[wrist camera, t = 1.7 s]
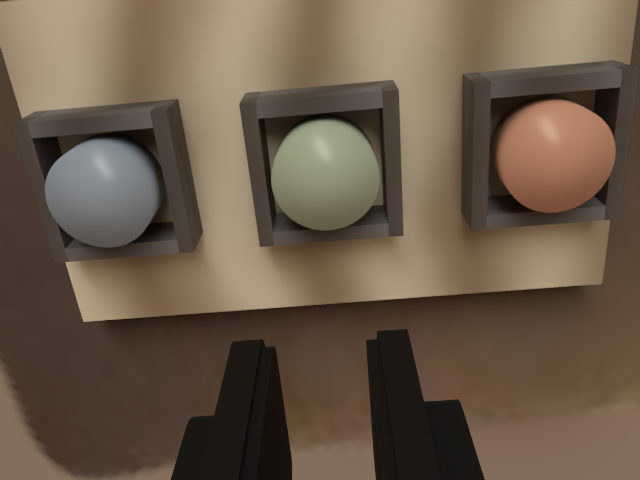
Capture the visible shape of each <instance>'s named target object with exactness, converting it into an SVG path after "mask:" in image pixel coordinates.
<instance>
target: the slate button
mask: <svg viewBox="0 0 640 480" xmlns="http://www.w3.org/2000/svg"><path fill="white" fill-rule="evenodd" d="M165 190H166V187H165V182H164V177H163V172H162V168H161V166H160V164H159V162H158V160H157V159H156V158H155V156H154V155H153V154H152V153H151V152H150V151H149V149H147V148H146V147H145V146H144V145H142V144H141V143H139V142H138V141H136V140H134V139H132V138H130V137H127V136H124V135H120V134H114V133H103V134H97V135H94V136H91V137H89V138H86V139H85V140H83V141H82V142H80V143H79V144H78V145H76V146H75V147H74V148H72V149H71V150H70V151H68V152H67V153H66V154H64V155H63V156H62V157H60V158H59V159H58V160H57V161H56V162H55V163H54V164H53V166H52V167H51V169H50V171H49V173H48V175H47V178H46V183H45V197H46V202H47V205H48V208H49V210H50V212H51V214H52V216H53V218H54V219H55V221H56V222H57V223H58V224H59V226H60V227H61V228H62V229H63V230H64V231H66V232H67V233H68V234H69V235H71V236H72V237H74V238H75V239H77V240H79V241H81V242H83V243H86V244H89V245H92V246H97V247H105V248H107V247H118V246H122V245H125V244H128V243H130V242H132V241H133V240H135V239H136V238H138V237H139V236H140V235H141V234H142V233H143V232H144V231H145V229H146V228H147V226H148V225H149V223H150V222H151V220H152V219H153V217H154V216H155V214H156V213H157V211H158V210H159V208H160V207H161V204H162V202H163V200H164V196H165Z"/></svg>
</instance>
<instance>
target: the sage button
mask: <svg viewBox="0 0 640 480" xmlns="http://www.w3.org/2000/svg"><path fill="white" fill-rule="evenodd" d="M379 184H380V175H379V168H378V164H377V161H376V157H375V153H374V149H373V146H372V144H371V141H370V140H369V138H368V136H367V135H366V134H365V132H364V131H363V130H362V129H361V128H360V127H359V126H357V125H356V124H355V123H353V122H352V121H350V120H348V119H346V118H343V117H340V116H336V115H329V114H321V115H314V116H311V117H307V118H305V119H303V120H301V121H299V122H298V123H296V124H295V125H293V126H292V127H291V128H290V129H289V130H288V131H287V132H286V133H285V135H284V136H283V137H282V139H281V141H280V143H279V145H278V148H277V151H276V155H275V159H274V163H273V168H272V173H271V185H272V190H273V194H274V197H275V199H276V201H277V203H278V205H279V206H280V208H281V209H282V211H283V212H284V213H285V214H286V215H287V216H288V217H289V218H291V219H292V220H293V221H295V222H296V223H298V224H300V225H302V226H305V227H307V228H311V229H315V230H336V229H340V228H343V227H346V226H349V225H351V224H352V223H354V222H356V221H357V220H359V219H360V218H361V217H362V216H363V215H365V214H366V213H367V211H368V210H369V209H370V208H371V206H372V204H373V203H374V201H375V199H376V196H377V193H378V190H379Z"/></svg>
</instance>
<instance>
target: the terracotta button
mask: <svg viewBox="0 0 640 480" xmlns="http://www.w3.org/2000/svg"><path fill="white" fill-rule="evenodd" d="M615 153H616V148H615V141H614V137H613V134H612V132H611V130H610V128H609V127H608V125H607V124H606V123H605V121H604V120H603V119H602V118H600V117H599V116H598V115H596V114H595V113H593V112H591V111H590V110H588V109H586V108H584V107H583V106H581V105H579V104H577V103H575V102H574V101H572V100H570V99H567V98H565V97H561V96H557V95H542V96H536V97H533V98H530V99H527V100H525V101H523V102H521V103H519V104H517V105H516V106H515V107H513V108H512V109H511V110H510V111H509V112H507V113H506V114H505V116H504V117H503V118H502V119H501V120H500V122H499V123H498V125H497V127H496V129H495V131H494V133H493V136H492V139H491V143H490V161H491V165H492V168H493V170H494V172H495V174H496V175H497V177H498V178H499V179H500V181H501V182H502V183H503V184H504V186H505V187H506V188H507V189H508V191H509V192H510V193H511V194H512V196H513V197H514V198H515V199H516V200H517V201H518V202H519V203H521V204H522V205H524V206H525V207H527V208H529V209H532V210H534V211H539V212H545V213H556V212H563V211H567V210H570V209H573V208H575V207H577V206H579V205H581V204H583V203H585V202H586V201H588V200H589V199H590V198H592V197H593V196H594V195H595V194H596V193H597V192H598V191H599V190H600V189H601V188H602V187H603V185H604V184H605V182H606V181H607V179H608V178H609V176H610V173H611V171H612V169H613V165H614V161H615Z"/></svg>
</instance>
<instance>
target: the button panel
mask: <svg viewBox="0 0 640 480" xmlns="http://www.w3.org/2000/svg"><path fill="white" fill-rule="evenodd" d="M637 5H638V0H10V1H2V2H0V47H1V50H2V53H3V57H4V60H5V63H6V66H7V70H8V73H9V76H10V80H11V83H12V86H13V90H14V93H15V96H16V100H17V103H18V106H19V110H20V113H21V116H22V119H20V120H18V121H16V122H14V123H12V127H13V131H14V134H15V137H16V140H17V143H18V147H19V150H20V153H21V156H22V160H23V163H24V166H25V169H26V172H27V176H28V179H29V182H30V185H31V189H32V192H33V195H34V198H35V201H36V205H37V208H38V211H39V214H40V218H41V221H42V224H43V227H44V230H45V234H46V237H47V240H48V243H49V247H50V250H51V253H52V256H53V259H54V263H61V262H66V265H67V269H68V272H69V275H70V279H71V282H72V285H73V289H74V292H75V295H76V299H77V302H78V305H79V308H80V312H81V315H82V318H83V322H87V321H101V320H115V319H128V318H142V317H156V316H169V315H183V314H197V313H210V312H224V311H238V310H251V309H265V308H279V307H292V306H306V305H320V304H333V303H347V302H361V301H374V300H388V299H402V298H415V297H429V296H443V295H456V294H470V293H484V292H497V291H511V290H525V289H538V288H552V287H566V286H579V285H593V284H602V281H603V273H604V265H605V257H606V250H607V242H608V234H609V226H610V220H615V219H620V212H621V205H622V198H623V190H624V183H625V175H626V168H627V160H628V153H629V145H630V138H631V130H632V123H633V115H634V108H635V101H636V93H637V86H638V78H639V71H640V69H639V68H636V67H634V66H631V65H630V60H631V53H632V45H633V37H634V29H635V21H636V13H637ZM542 95H557V96H561V97H565V98H567V99H570V100H572V101H574V102H575V103H577V104H579V105H581V106H583V107H584V108H586V109H588V110H590V111H591V112H593V113H595V114H596V115H598V116H599V117H600V118H602V119H603V120H604V121H605V123H606V124H607V125H608V127H609V128H610V130H611V132H612V134H613V137H614V141H615V148H616V153H615V161H614V165H613V169H612V171H611V173H610V176H609V178H608V179H607V181H606V182H605V184H604V185H603V187H602V188H601V189H600V190H599V191H598V192H597V193H596V194H595V195H594V196H593V197H592V198H590V199H589V200H588V201H586V202H585V203H583V204H581V205H579V206H577V207H575V208H573V209H570V210H567V211H563V212H556V213H545V212H539V211H534V210H532V209H529V208H527V207H525V206H524V205H522V204H521V203H519V202H518V201H517V200H516V199H515V198H514V197H513V196H512V194H511V193H510V192H509V191H508V189H507V188H506V187H505V186H504V184H503V183H502V182H501V181H500V179H499V178H498V177H497V175H496V174H495V172H494V170H493V168H492V165H491V161H490V143H491V139H492V136H493V133H494V131H495V129H496V127H497V125H498V123H499V122H500V120H501V119H502V118H503V117H504V116H505V114H506V113H507V112H509V111H510V110H511V109H512V108H513V107H515V106H516V105H517V104H519V103H521V102H523V101H525V100H527V99H530V98H533V97H536V96H542ZM321 114H329V115H336V116H340V117H343V118H346V119H348V120H350V121H352V122H353V123H355V124H356V125H357V126H359V127H360V128H361V129H362V130H363V131H364V132H365V134H366V135H367V136H368V138H369V140H370V141H371V144H372V146H373V149H374V153H375V157H376V161H377V164H378V168H379V175H380V184H379V190H378V193H377V196H376V199H375V201H374V203H373V204H372V206H371V208H370V209H369V210H368V211H367V213H366V214H365V215H363V216H362V217H361V218H360V219H359V220H357V221H356V222H354V223H352V224H351V225H349V226H346V227H343V228H340V229H336V230H315V229H311V228H307V227H305V226H302V225H300V224H298V223H296V222H295V221H293V220H292V219H291V218H289V217H288V216H287V215H286V214H285V213H284V212H283V211H282V209H281V208H280V206H279V205H278V203H277V201H276V199H275V197H274V194H273V190H272V185H271V173H272V168H273V163H274V159H275V155H276V151H277V148H278V145H279V143H280V141H281V139H282V137H283V136H284V135H285V133H286V132H287V131H288V130H289V129H290V128H291V127H292V126H293V125H295V124H296V123H298V122H299V121H301V120H303V119H305V118H307V117H311V116H314V115H321ZM103 133H114V134H120V135H124V136H127V137H130V138H132V139H134V140H136V141H138V142H139V143H141V144H142V145H144V146H145V147H146V148H147V149H149V151H150V152H151V153H152V154H153V155H154V156H155V158H156V159H157V160H158V162H159V164H160V166H161V168H162V172H163V177H164V182H165V187H166V190H165V196H164V200H163V202H162V204H161V207H160V208H159V210H158V211H157V213H156V214H155V216H154V217H153V219H152V220H151V222H150V223H149V225H148V226H147V228H146V229H145V231H144V232H143V233H142V234H141V235H140V236H139V237H138V238H136V239H135V240H133V241H132V242H130V243H128V244H125V245H122V246H118V247H107V248H105V247H97V246H92V245H89V244H86V243H83V242H81V241H79V240H77V239H75V238H74V237H72V236H71V235H69V234H68V233H67V232H66V231H64V230H63V229H62V228H61V227H60V226H59V224H58V223H57V222H56V221H55V219H54V218H53V216H52V214H51V212H50V210H49V208H48V205H47V202H46V197H45V183H46V178H47V175H48V173H49V171H50V169H51V167H52V166H53V164H54V163H55V162H56V161H57V160H58V159H59V158H60V157H62V156H63V155H64V154H66V153H67V152H68V151H70V150H71V149H72V148H74V147H75V146H76V145H78V144H79V143H80V142H82V141H83V140H85V139H86V138H89V137H91V136H94V135H97V134H103Z"/></svg>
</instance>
